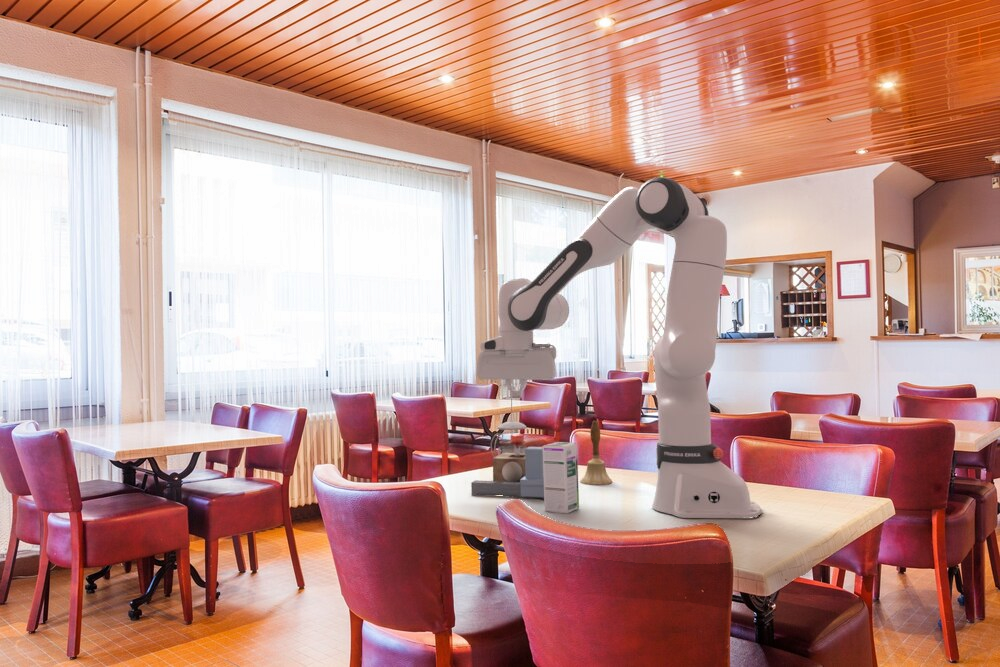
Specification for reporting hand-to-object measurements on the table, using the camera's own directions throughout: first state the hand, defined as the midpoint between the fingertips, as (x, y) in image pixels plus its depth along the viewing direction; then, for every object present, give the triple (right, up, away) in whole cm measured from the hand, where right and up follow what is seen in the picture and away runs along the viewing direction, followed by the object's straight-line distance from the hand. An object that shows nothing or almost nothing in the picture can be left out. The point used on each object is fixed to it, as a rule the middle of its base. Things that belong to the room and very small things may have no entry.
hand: (516, 397), depth 190 cm
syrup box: (+9, -22, -27) cm, 36 cm away
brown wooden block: (0, -23, 0) cm, 23 cm away
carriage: (+4, -22, -12) cm, 26 cm away
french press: (-1, -23, +15) cm, 28 cm away
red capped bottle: (0, -18, 0) cm, 17 cm away
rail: (-1, -23, -11) cm, 25 cm away
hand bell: (+21, -23, +6) cm, 32 cm away
